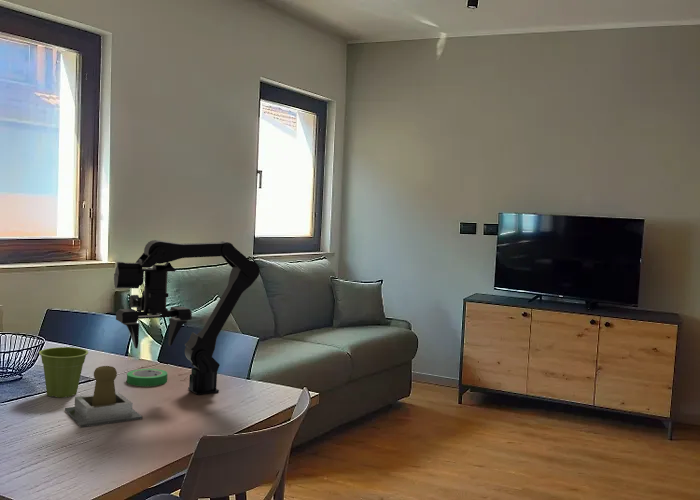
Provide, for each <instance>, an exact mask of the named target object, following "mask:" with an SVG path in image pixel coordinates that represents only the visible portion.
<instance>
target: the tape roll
mask: <svg viewBox="0 0 700 500" xmlns="http://www.w3.org/2000/svg"><path fill="white" fill-rule="evenodd" d="M126 383H127V384H128V385H131V386H135V387H156V386H162V385H165V384H167V383H168V372H167V371H166V370H163V369H159V368H140V369H134V370H131V371H128V372H127V373H126Z"/></svg>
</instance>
